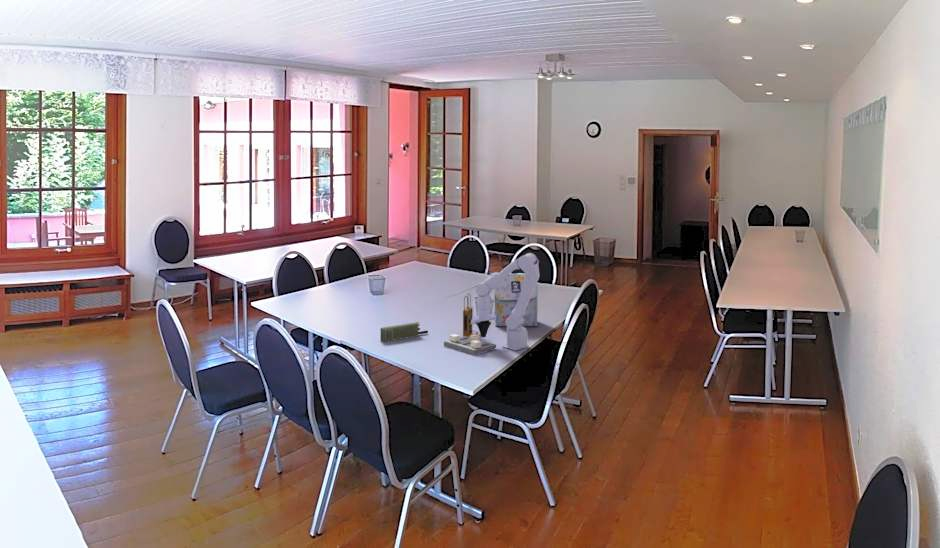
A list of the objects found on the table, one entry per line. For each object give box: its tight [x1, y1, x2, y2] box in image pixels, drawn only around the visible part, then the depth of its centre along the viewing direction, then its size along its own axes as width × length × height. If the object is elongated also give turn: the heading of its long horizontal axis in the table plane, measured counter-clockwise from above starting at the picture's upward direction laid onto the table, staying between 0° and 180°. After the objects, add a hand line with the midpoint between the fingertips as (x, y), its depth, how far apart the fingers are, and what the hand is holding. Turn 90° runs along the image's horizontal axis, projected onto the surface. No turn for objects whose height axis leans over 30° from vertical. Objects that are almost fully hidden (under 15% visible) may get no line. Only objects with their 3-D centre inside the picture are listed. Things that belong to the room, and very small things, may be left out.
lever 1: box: [449, 333, 461, 342], centre depth 348 cm, size 3×4×2 cm
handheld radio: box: [380, 321, 429, 342], centre depth 361 cm, size 7×3×25 cm
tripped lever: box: [469, 333, 481, 341], centre depth 347 cm, size 3×4×3 cm
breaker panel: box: [443, 336, 497, 355], centre depth 346 cm, size 14×20×2 cm
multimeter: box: [462, 293, 481, 337], centre depth 364 cm, size 15×10×20 cm
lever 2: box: [471, 340, 481, 348], centre depth 338 cm, size 3×4×2 cm
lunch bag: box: [493, 272, 539, 327], centre depth 385 cm, size 22×17×26 cm
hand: (483, 336), depth 351 cm, fingers closed
